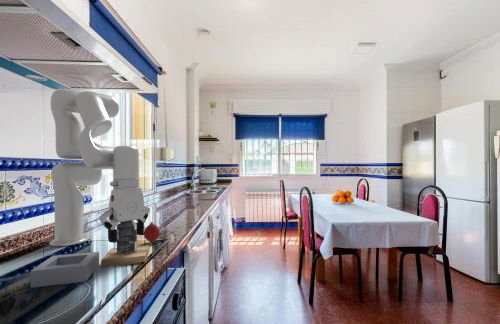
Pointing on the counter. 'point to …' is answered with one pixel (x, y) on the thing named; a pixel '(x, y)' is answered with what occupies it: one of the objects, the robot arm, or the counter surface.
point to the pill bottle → (126, 237)
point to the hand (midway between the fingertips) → (127, 238)
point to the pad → (125, 257)
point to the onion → (151, 232)
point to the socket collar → (64, 269)
